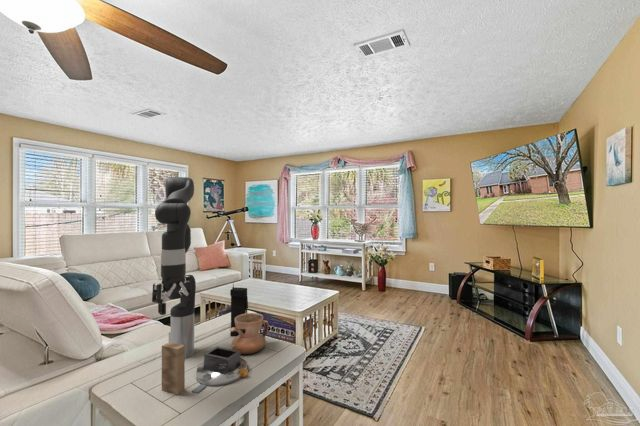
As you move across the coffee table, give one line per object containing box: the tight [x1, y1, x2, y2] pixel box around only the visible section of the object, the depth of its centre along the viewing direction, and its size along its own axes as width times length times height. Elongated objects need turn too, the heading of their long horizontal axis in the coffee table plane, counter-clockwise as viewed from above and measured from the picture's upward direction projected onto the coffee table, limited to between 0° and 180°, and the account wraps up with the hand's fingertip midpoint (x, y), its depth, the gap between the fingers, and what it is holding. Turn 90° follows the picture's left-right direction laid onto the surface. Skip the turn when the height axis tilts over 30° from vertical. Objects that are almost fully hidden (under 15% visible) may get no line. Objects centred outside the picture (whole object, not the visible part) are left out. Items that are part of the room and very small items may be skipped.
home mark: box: [191, 383, 207, 394], centre depth 101 cm, size 2×4×1 cm, turn 158°
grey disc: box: [195, 346, 248, 387], centre depth 111 cm, size 19×18×7 cm
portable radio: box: [229, 283, 249, 338], centre depth 147 cm, size 8×6×25 cm
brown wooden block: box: [161, 341, 186, 396], centre depth 101 cm, size 7×3×15 cm, turn 68°
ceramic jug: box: [229, 312, 269, 355], centre depth 131 cm, size 18×14×14 cm
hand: (173, 310), depth 101 cm, fingers open, 8 cm apart
